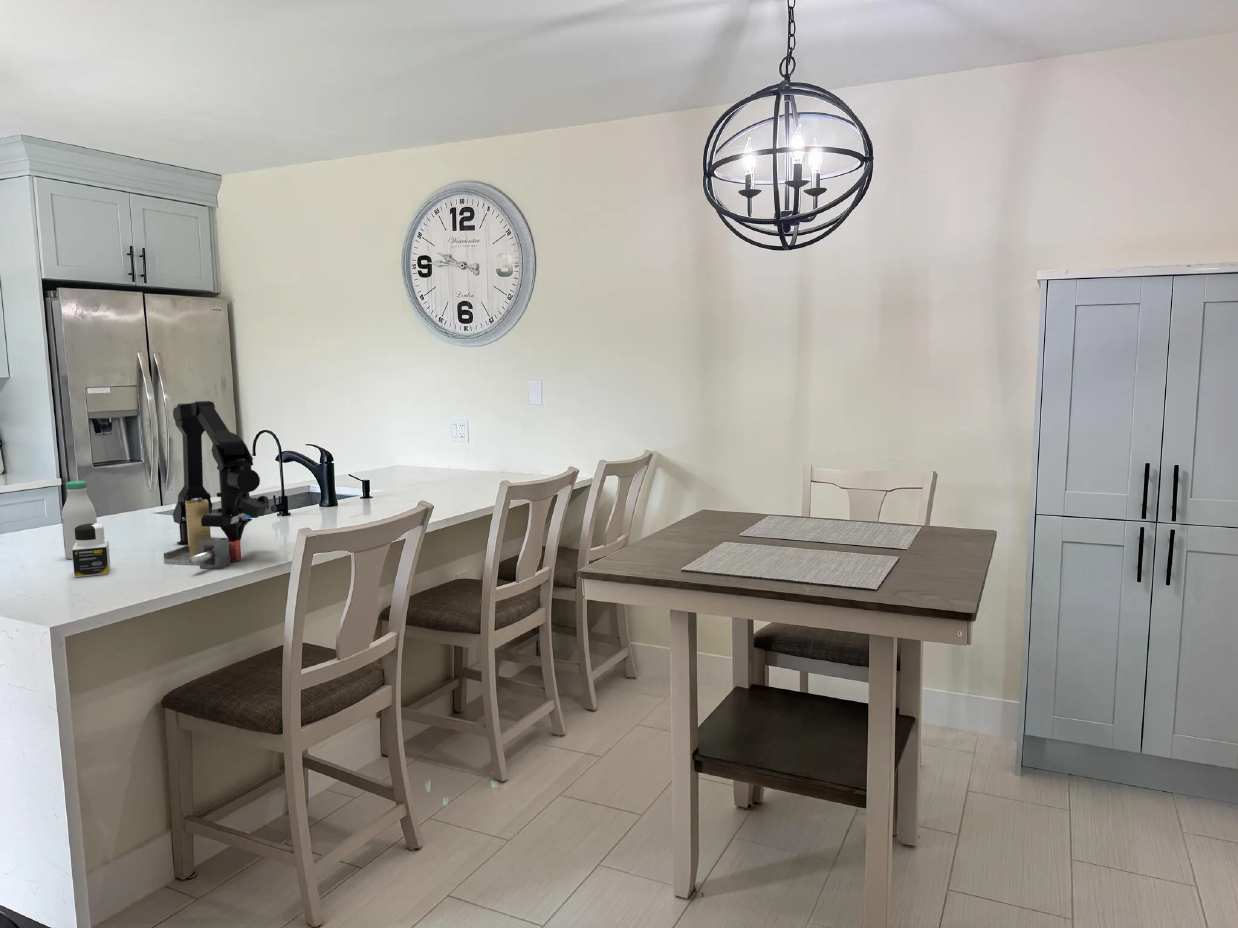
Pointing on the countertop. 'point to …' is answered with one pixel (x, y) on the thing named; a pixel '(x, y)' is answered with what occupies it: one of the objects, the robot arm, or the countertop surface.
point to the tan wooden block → (196, 523)
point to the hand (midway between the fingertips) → (236, 547)
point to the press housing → (215, 552)
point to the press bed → (178, 556)
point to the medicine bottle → (90, 551)
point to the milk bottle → (76, 513)
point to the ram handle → (233, 554)
